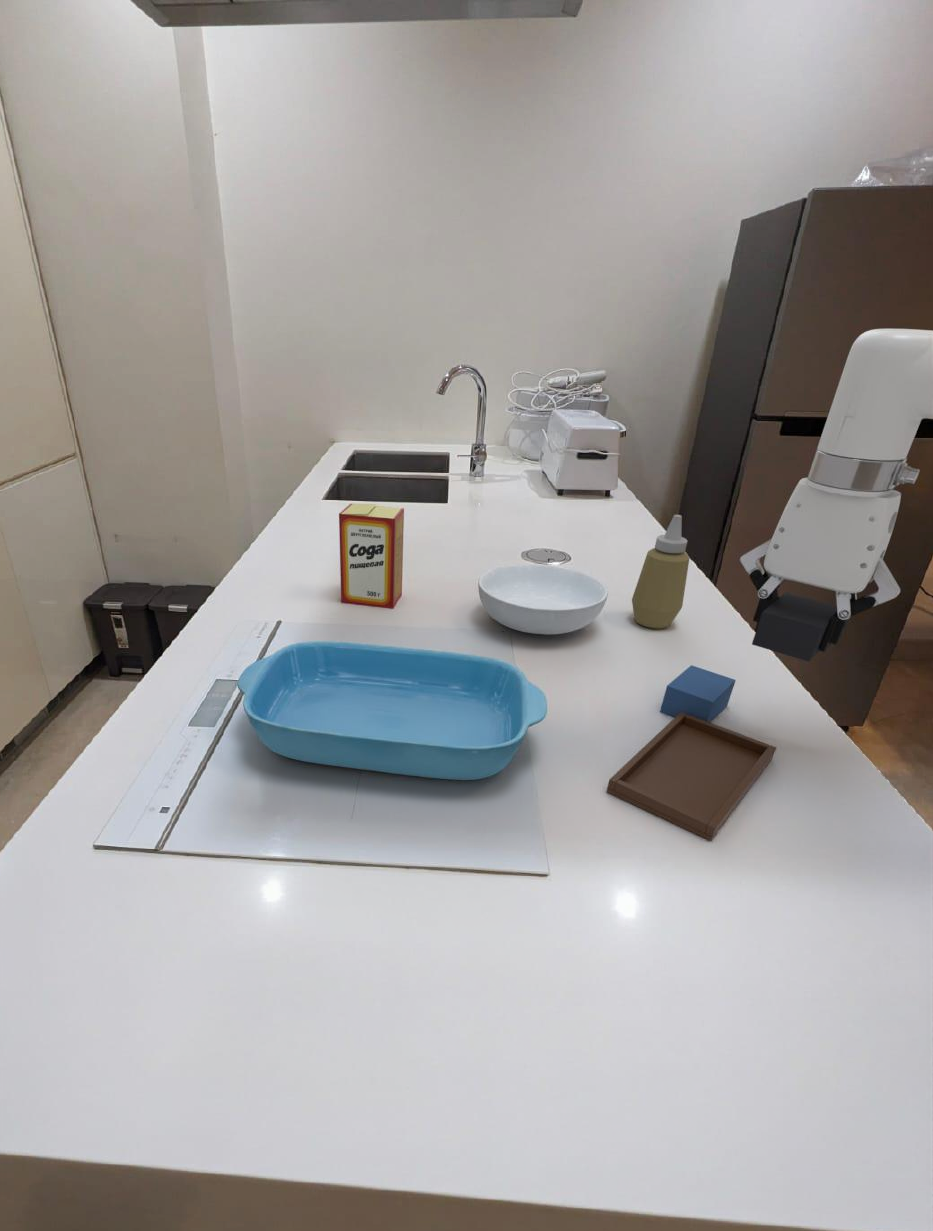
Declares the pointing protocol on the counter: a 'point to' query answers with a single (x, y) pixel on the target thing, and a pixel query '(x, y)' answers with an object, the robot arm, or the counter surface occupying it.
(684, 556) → the squeeze bottle
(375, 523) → the baking soda box
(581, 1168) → the counter surface
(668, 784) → the brown wooden tray
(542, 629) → the serving bowl
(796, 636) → the black block
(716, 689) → the blue rectangular block
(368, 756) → the casserole dish
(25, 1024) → the counter surface
